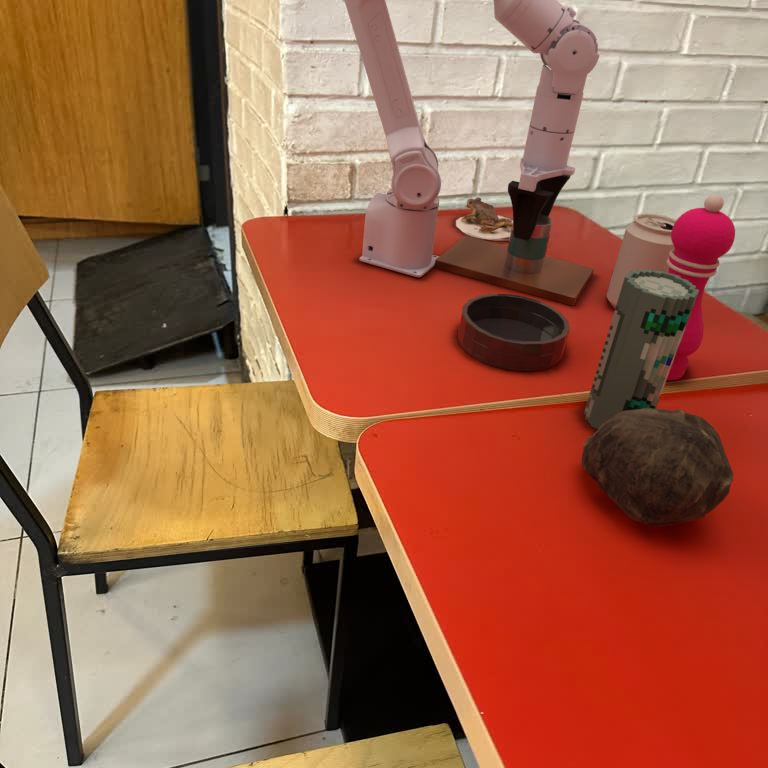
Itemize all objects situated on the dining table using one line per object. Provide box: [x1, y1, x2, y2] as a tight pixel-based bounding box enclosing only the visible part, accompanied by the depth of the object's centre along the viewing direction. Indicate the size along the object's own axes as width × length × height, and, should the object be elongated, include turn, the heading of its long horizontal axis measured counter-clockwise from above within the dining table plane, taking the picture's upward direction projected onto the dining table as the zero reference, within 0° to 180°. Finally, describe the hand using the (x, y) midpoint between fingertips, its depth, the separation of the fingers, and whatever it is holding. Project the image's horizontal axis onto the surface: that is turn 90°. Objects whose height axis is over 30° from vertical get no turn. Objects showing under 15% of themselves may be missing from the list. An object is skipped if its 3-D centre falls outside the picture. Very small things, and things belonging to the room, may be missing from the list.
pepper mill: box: [666, 194, 736, 381], centre depth 74 cm, size 7×7×20 cm
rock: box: [581, 408, 734, 527], centre depth 57 cm, size 10×11×10 cm
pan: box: [457, 293, 571, 372], centre depth 80 cm, size 12×12×4 cm
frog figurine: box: [455, 196, 513, 242], centre depth 113 cm, size 12×12×4 cm
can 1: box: [606, 213, 677, 309], centre depth 89 cm, size 8×8×12 cm
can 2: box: [583, 269, 699, 430], centre depth 65 cm, size 6×6×15 cm
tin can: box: [505, 214, 554, 273], centre depth 96 cm, size 5×5×7 cm
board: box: [433, 235, 595, 307], centre depth 99 cm, size 20×12×1 cm, turn 64°
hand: (529, 230), depth 95 cm, fingers open, 7 cm apart
